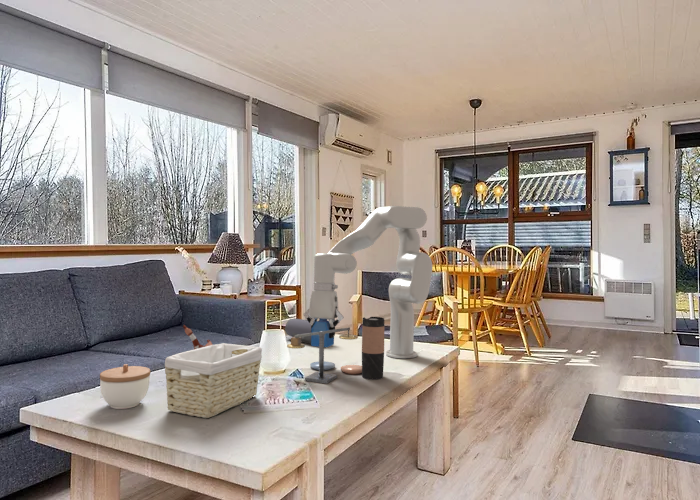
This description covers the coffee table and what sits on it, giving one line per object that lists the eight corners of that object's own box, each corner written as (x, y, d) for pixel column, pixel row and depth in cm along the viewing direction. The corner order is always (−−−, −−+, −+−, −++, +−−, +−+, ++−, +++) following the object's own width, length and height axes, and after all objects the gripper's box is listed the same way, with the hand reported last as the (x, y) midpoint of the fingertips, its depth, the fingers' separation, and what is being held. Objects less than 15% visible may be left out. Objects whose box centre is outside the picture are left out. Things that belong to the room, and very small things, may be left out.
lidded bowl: (117, 416, 125) (117, 373, 125) (89, 406, 132) (90, 365, 132) (159, 402, 136) (160, 363, 136) (132, 394, 143) (132, 357, 143)
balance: (293, 372, 171) (294, 320, 171) (360, 380, 162) (361, 326, 161) (281, 377, 164) (282, 324, 163) (351, 387, 154) (352, 330, 154)
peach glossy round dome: (346, 367, 179) (346, 363, 179) (369, 369, 176) (369, 366, 176) (336, 372, 171) (336, 369, 171) (360, 375, 167) (360, 372, 167)
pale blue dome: (316, 363, 184) (316, 360, 184) (338, 366, 180) (338, 363, 180) (305, 369, 175) (306, 365, 175) (328, 371, 172) (328, 368, 172)
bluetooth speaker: (332, 344, 220) (332, 322, 220) (316, 347, 213) (317, 324, 213) (299, 337, 236) (299, 316, 235) (283, 339, 229) (284, 318, 229)
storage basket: (219, 389, 150) (220, 341, 150) (264, 396, 144) (264, 346, 144) (160, 413, 128) (161, 357, 128) (209, 423, 122) (210, 364, 122)
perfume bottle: (311, 345, 176) (311, 312, 176) (318, 342, 182) (319, 310, 182) (326, 347, 174) (327, 313, 174) (333, 344, 179) (334, 311, 179)
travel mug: (382, 380, 162) (383, 320, 162) (359, 378, 164) (360, 319, 164) (385, 374, 170) (386, 317, 170) (363, 373, 171) (364, 316, 171)
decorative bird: (176, 356, 177) (193, 318, 177) (223, 375, 178) (240, 337, 179) (151, 377, 148) (171, 332, 149) (207, 400, 150) (227, 355, 150)
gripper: (349, 287, 178) (348, 337, 178) (307, 285, 184) (306, 333, 184) (341, 289, 171) (340, 340, 171) (298, 286, 177) (296, 336, 177)
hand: (322, 336), depth 178 cm, fingers closed on perfume bottle, 6 cm apart
